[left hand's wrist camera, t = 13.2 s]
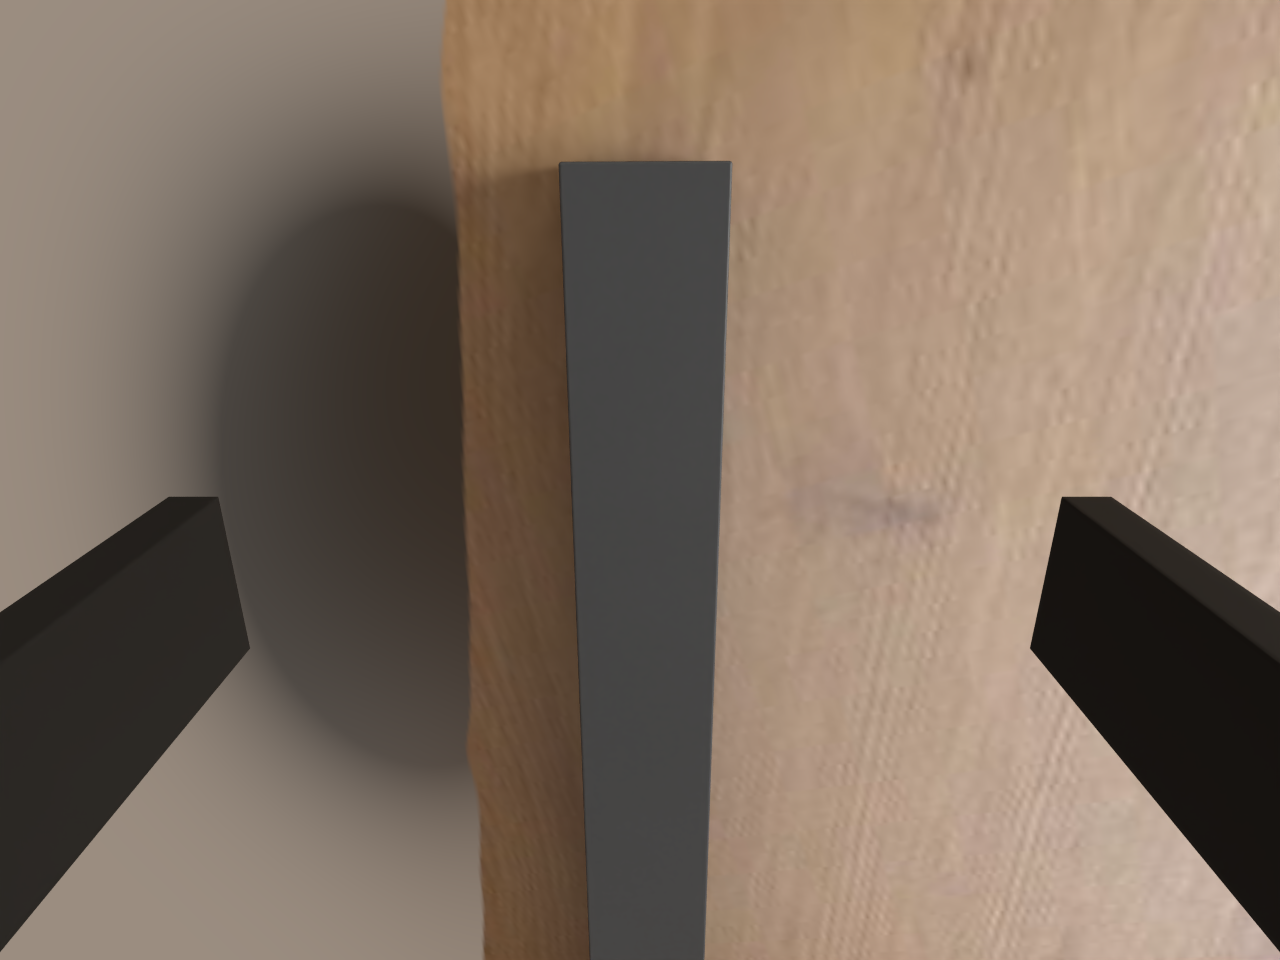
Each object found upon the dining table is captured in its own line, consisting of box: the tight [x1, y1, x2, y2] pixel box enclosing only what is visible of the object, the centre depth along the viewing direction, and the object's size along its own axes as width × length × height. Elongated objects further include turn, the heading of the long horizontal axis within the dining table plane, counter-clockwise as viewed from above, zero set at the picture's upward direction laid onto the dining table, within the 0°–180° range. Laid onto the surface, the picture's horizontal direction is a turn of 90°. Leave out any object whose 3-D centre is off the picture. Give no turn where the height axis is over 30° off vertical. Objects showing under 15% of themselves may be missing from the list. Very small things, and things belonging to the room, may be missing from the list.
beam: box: [559, 161, 732, 960], centre depth 39 cm, size 59×6×7 cm, turn 0°
